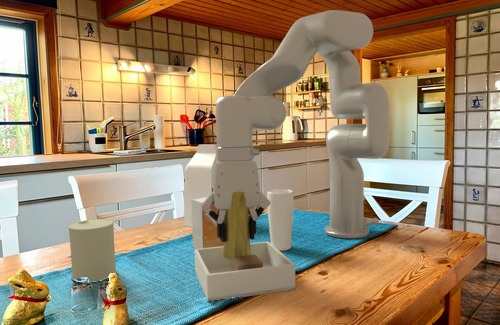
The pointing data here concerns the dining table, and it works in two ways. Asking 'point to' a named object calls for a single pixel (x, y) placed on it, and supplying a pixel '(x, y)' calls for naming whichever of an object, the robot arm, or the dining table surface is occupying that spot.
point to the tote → (243, 273)
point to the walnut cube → (246, 262)
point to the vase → (237, 228)
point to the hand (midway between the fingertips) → (236, 238)
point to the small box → (204, 226)
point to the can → (92, 249)
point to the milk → (198, 178)
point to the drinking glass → (280, 217)
